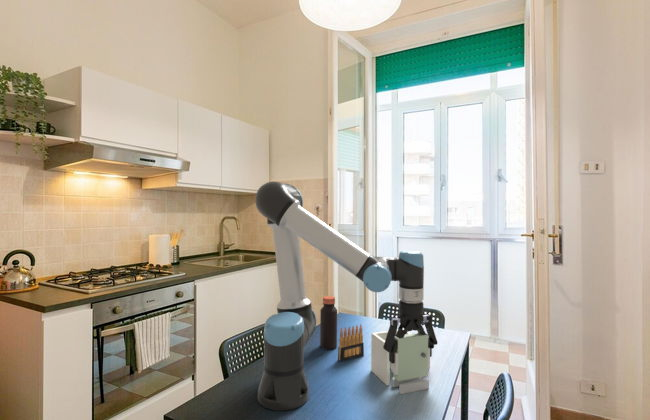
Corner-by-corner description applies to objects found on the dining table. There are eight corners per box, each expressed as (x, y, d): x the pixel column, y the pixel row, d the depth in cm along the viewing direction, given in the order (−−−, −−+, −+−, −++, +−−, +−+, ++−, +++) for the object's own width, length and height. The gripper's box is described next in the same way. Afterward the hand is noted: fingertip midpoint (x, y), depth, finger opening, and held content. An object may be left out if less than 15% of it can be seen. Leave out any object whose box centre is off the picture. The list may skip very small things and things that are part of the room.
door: (399, 382, 105) (399, 340, 105) (393, 377, 108) (393, 336, 108) (429, 377, 108) (430, 335, 108) (423, 372, 112) (423, 332, 112)
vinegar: (336, 343, 143) (337, 295, 143) (336, 350, 137) (337, 299, 137) (320, 343, 144) (321, 295, 144) (319, 349, 137) (320, 299, 137)
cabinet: (396, 395, 104) (397, 352, 104) (371, 370, 120) (371, 333, 120) (432, 387, 108) (433, 346, 108) (403, 365, 124) (403, 329, 124)
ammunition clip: (340, 362, 126) (340, 329, 126) (337, 360, 128) (338, 327, 128) (364, 355, 132) (364, 324, 132) (361, 354, 133) (361, 323, 133)
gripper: (384, 306, 101) (383, 381, 101) (449, 300, 109) (449, 369, 109) (372, 300, 108) (371, 370, 108) (434, 294, 116) (434, 359, 116)
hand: (410, 369), depth 109 cm, fingers closed on door, 11 cm apart
